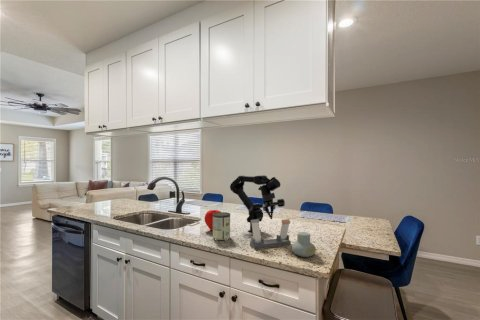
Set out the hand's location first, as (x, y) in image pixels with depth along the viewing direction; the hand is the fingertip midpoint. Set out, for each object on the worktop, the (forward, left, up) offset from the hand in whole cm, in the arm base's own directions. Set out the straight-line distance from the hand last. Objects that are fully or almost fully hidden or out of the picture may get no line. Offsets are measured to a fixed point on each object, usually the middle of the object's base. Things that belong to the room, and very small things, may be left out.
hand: (271, 218), depth 136 cm
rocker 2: (+5, +8, -8) cm, 12 cm away
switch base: (+10, +3, -12) cm, 16 cm away
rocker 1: (+15, -3, -8) cm, 18 cm away
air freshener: (+17, +21, -12) cm, 29 cm away
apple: (-2, -40, -12) cm, 42 cm away
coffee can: (+11, -27, -12) cm, 31 cm away
